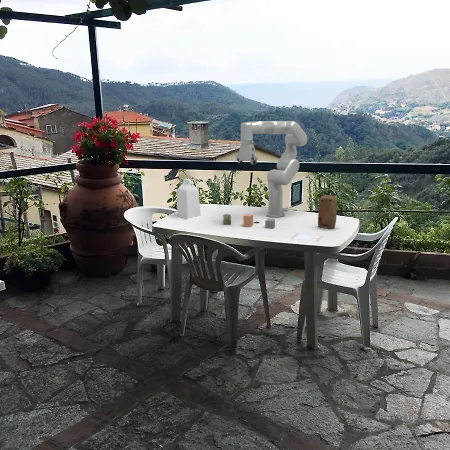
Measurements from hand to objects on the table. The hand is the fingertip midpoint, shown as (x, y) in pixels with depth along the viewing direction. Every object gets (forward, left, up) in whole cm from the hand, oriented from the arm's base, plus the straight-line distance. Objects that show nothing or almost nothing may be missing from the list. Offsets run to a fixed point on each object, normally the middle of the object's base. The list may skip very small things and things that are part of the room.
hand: (246, 169), depth 287 cm
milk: (+21, -40, -35) cm, 57 cm away
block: (-29, +42, -35) cm, 62 cm away
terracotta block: (+5, +7, -35) cm, 36 cm away
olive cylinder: (+13, -5, -35) cm, 37 cm away
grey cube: (-3, +19, -35) cm, 40 cm away
